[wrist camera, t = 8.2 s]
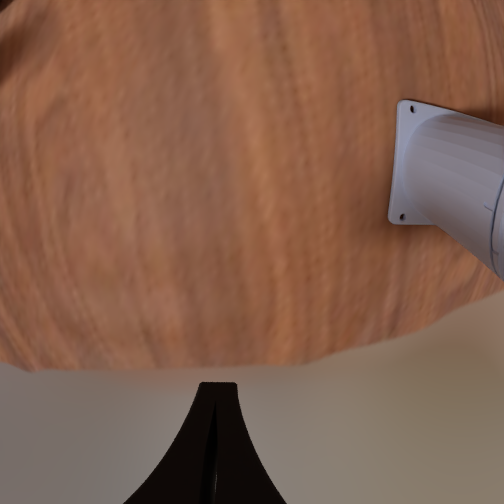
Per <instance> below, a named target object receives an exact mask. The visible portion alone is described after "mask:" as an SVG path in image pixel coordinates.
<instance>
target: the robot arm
mask: <svg viewBox="0 0 504 504" xmlns="http://www.w3.org/2000/svg"><path fill="white" fill-rule="evenodd" d="M411 106H413V107H414V111H413V112H411V111H410V107H411ZM401 214H404V216H403V218H402V219H400V215H401ZM388 220H389V221H390V222H391V223H392V224H402V225H437V226H438V227H439V228H441V229H442V230H443V231H444V232H446V233H447V234H448V235H450V236H451V237H452V238H453V239H455V240H456V241H457V242H458V243H460V244H461V245H462V246H463V247H465V248H466V249H467V250H468V251H470V252H471V253H472V254H473V255H474V256H476V257H477V258H478V259H479V260H480V261H481V262H483V263H484V264H485V265H486V266H487V267H488V268H489V269H491V270H492V271H493V272H494V273H495V274H496V275H497V276H498V277H499V278H501V280H503V281H504V126H502V125H498V124H494V123H491V122H488V121H485V120H482V119H479V118H476V117H473V116H470V115H466V114H463V113H459V112H456V111H452V110H448V109H444V108H441V107H436V106H432V105H428V104H424V103H419V102H414V101H410V100H401V101H399V102H398V105H397V125H396V143H395V156H394V168H393V178H392V187H391V195H390V203H389V210H388ZM216 475H217V477H216ZM215 485H216V490H215ZM123 504H287V503H286V502H285V501H284V499H283V498H282V496H281V495H280V493H279V492H278V491H277V489H276V487H275V486H274V484H273V483H272V481H271V479H270V478H269V476H268V474H267V472H266V470H265V469H264V467H263V465H262V463H261V461H260V459H259V457H258V455H257V453H256V451H255V449H254V446H253V444H252V441H251V439H250V437H249V434H248V431H247V428H246V425H245V422H244V420H243V416H242V412H241V409H240V404H239V399H238V390H237V384H236V383H234V382H201V383H200V384H199V387H198V390H197V393H196V396H195V399H194V401H193V404H192V406H191V408H190V411H189V413H188V415H187V417H186V419H185V421H184V423H183V425H182V427H181V429H180V431H179V432H178V434H177V436H176V438H175V439H174V441H173V443H172V444H171V446H170V448H169V449H168V451H167V452H166V454H165V455H164V457H163V459H162V460H161V461H160V462H159V464H158V465H157V467H156V468H155V469H154V471H153V472H152V473H151V474H150V475H149V477H148V478H147V479H146V480H145V482H144V483H143V484H142V485H141V486H140V487H139V488H138V489H137V490H136V491H135V492H134V493H133V494H132V495H131V496H130V498H128V499H127V500H126V502H124V503H123Z"/></svg>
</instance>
